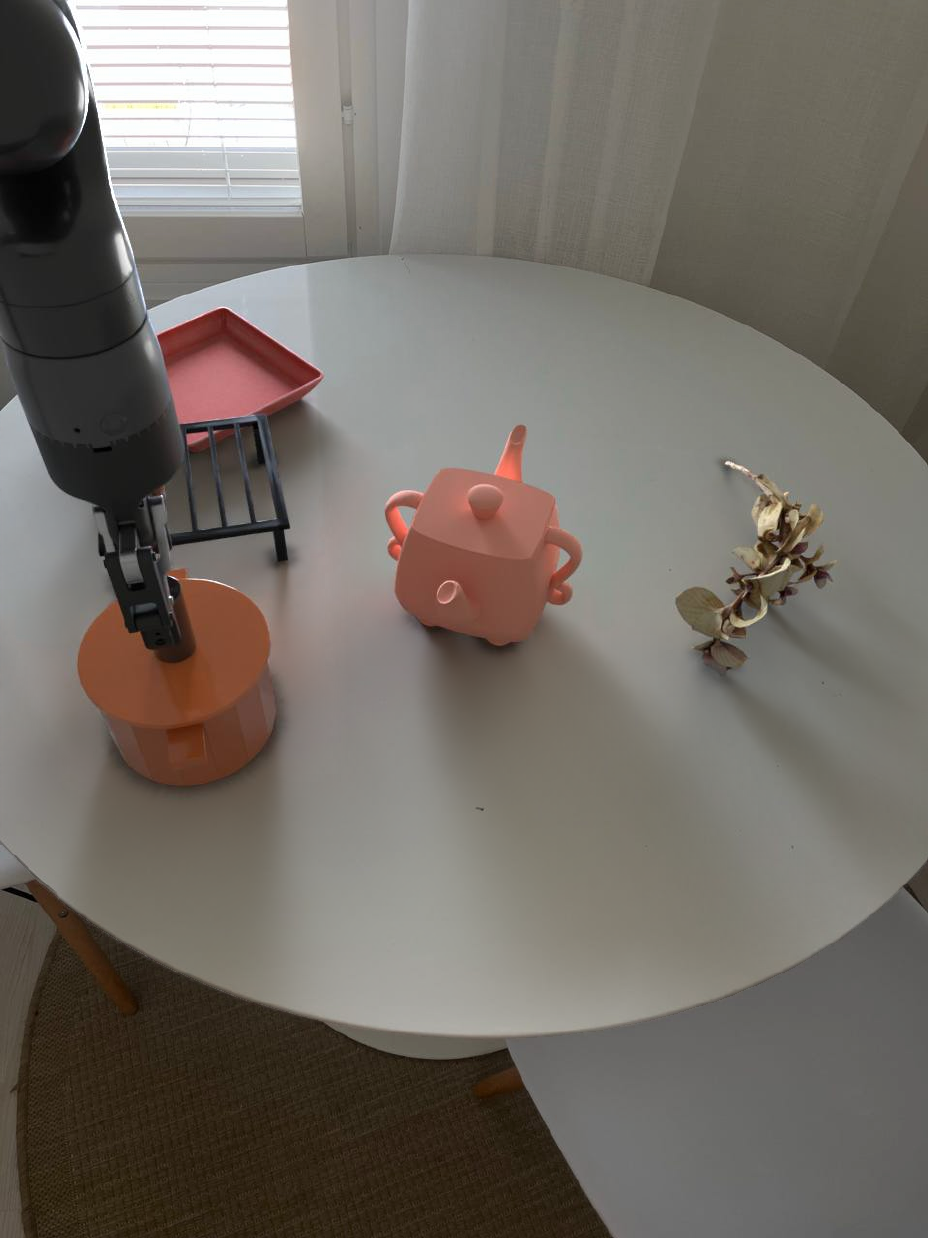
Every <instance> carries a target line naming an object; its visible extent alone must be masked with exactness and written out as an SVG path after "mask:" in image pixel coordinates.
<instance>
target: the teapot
mask: <svg viewBox="0 0 928 1238" xmlns="http://www.w3.org/2000/svg"><path fill="white" fill-rule="evenodd" d="M527 435H528V430H527V427H526V425H524V424H517V425H516V426H515V427H514V428H513V429H512V430H511V432H510V434H509V436H508V439H507V441H506V443H505V446H504V450H503V453H502V455H501V457H500V460H499V463H498V465H497V467H496V468H495V471H494V473H493V474H492V473H488V472H483V471H477V470H471V469H465V468H459V467H445V468H444V467H443V468H441V469H440V470H439V471H438V472H437V473H436V474H435V476H434V477H433V479H432V480H431V482H430V483H429V485H428V488H427V489H426V491H425V493H422V492H420V491H416V490H409V489H408V490H400V491H398V492H396V493H394V494H393V495H391V496H390V497H389V499H388V500H387V502H386V504H385V506H384V517H385V521H386V523H387V525H388V527H389V530H390V531H391V533H392V535H393V536H392V537H391V538H390V539H389V540H388V542H387V553H388V555H389V556H390V558H392V559H393V560H394V561H396V569H395V577H394V594H395V597H396V599H397V601H398V603H399V604H400V606H401V607H402V608H403V609H404V611H406V612H407V613H409V614H410V615H412V616H414V617H417V619H418V621H419V622H420V623H421V624H422V625H425V626H427V627H440V628H443V629H446V630H449V631H452V632H456V633H459V634H463V635H467V636H471V637H475V638H480V639H481V638H482V639H485V640H486V641H487V642H488V643H490V644H491V645H494V646H498V647H499V646H500V647H501V646H506V645H508V644H510V643H518V642H522V641H525V640H526V639H527V638H528V636H529V635H530V634H531V633H532V632H533V630H535V628H536V626H537V624H538V622H539V620H540V618H541V616H542V614H543V612H544V610H545V607H546V605H547V603H548V604H549V605H553V606H564V605H566V604H568V603H569V602H570V601H571V599H572V597H573V593H574V589H573V586H572V585H571V584H570V583H569V582H567V580H568V579H569V578H570V577H571V576H572V575H574V573H575V572H576V571H577V570H578V568H579V567H580V565H581V562H582V560H583V548H582V545H581V543H580V541H578V539H577V538H576V537H575V536H574V535H573V534H572V533H570V532H568V531H567V530H565V529H563V528H561V525H560V519H559V518H560V517H559V512H558V506H557V502H556V498H555V497H554V495H552V494H551V493H549V492H547V491H545V490H544V489H541V488H539V487H536V486H533V485H530V484H528V483H524V482H523V473H522V469H523V468H522V467H523V466H522V465H523V464H522V461H523V453H524V447H525V444H526V440H527ZM399 507H407V508H410V509H414V510H415V511H414V515H413V517H412V519H411V522H410V524H409V527H407V525H406V523H405V522H404V520H403V518H402V516H401V513H400V510H399ZM561 549H562V550H563V551H565V552H566V553H567V554H568V555H569V557H570V558H569V559H568V561H566V563H565V564H564V565H562V566H561V567H560V568H559V569H558V566H559V561H560V555H561Z"/></svg>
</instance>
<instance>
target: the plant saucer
mask: <svg viewBox="0 0 928 1238" xmlns="http://www.w3.org/2000/svg"><path fill="white" fill-rule="evenodd" d="M156 336H157V339H158V341H159V344H160V347H161V351H162V354H163V358H164V363H165V367H166V371H167V376H168V380H169V384H170V388H171V392H172V396H173V401H174V405H175V409H176V413H177V418H178V422H179V424H184V423H193V422H201V421H209V420H218V419H226V418H235V417H243V416H251V415H260V414H266V416H267V417H269V416H271V415H272V414H274V413H276V412H278V411H280V410H283V409H284V408H286V407H288V406H290V405H291V404H294V403H296V402H297V401H299V400H301V399H303V398H304V397H305V396H307V395H308V394H309V393H310V392H311V391H313V390H315V388H316V387H317V386H318V385H319V384H320V383H321V381H322V380H323V379H324V378H325V373H324V372H323V371H322V370H320V369H319V368H318V367H316V366H315V365H313V364H312V363H310V362H309V361H307V360H305V358H303V357H302V356H300V355H298V354H297V353H296V352H294V351H293V350H292V349H289V348H288V347H286V346H285V345H284V344H282V343H280V342H279V341H278V340H276V339H275V338H274V337H272V336H270V335H269V334H268V333H266V332H265V331H263V330H261V329H260V328H259V327H257V326H256V325H254V324H253V323H251V322H250V321H248V320H247V319H245V318H244V317H242V316H241V315H240V314H238V313H237V312H235V311H234V310H232V309H231V308H229V307H228V306H227V307H226V306H219V307H217V308H215V309H212V310H209V311H207V312H205V313H203V314H200V315H198V316H195V317H193V318H190V319H188V320H186V321H184V322H181V323H179V324H177V325H175V326H172V327H170V328H167V329H165V330H163V331H160V332H158V333H156ZM244 429H247V427H242V428H240V431H242V430H244ZM213 433H214V439H215V444H217V443H219V442H221V441H223V440H225V439H227V438H228V437H231V436H232V435H235V430H234V428H233V429H225V430H217V431H213ZM187 441H188V449H189V452H193V453H200V452H202V451H204V450H206V449H207V448H210V443H209V437H208V432H200V433H192V434H187Z"/></svg>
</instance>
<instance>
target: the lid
mask: <svg viewBox="0 0 928 1238" xmlns="http://www.w3.org/2000/svg"><path fill="white" fill-rule="evenodd" d="M166 577H167V581H168V586H169V591H170V596H171V597H173V601H174V605H172V607H173V610H174V613H175V617H176V620H177V623H178V627H179V630H180V635H181V643H180V644H179V645H177V646H174V647H168V648H162V649H157V650H149V649H147V648H146V647H145V644H144V641H143V639H142V636H141V633H140V631H139V632H137V633H131V634H129V632H128V629H127V628H125V624H124V618H123V615H122V612H121V609H120V606H119V603H118V600H117V599H116V600H115V601H113V602H112V603H111V604H109V605H108V606H107V607H106V608H105V609H103V611H101V612H100V614H99V615H97V616H96V618H95V619H94V620H93V622H91V624H90V625H89V627H88V629H87V630H86V631H85V633H84V635H83V638H82V640H81V642H80V645H79V649H78V653H77V660H76V667H77V676H78V678H79V682H80V684H81V687H82V689H83V691H84V693H85V695H86V697H87V698H88V700H90V702H91V703H92V704H93V705H94V706H95V708H97V709H98V710H99V712H100V711H102V712H103V713H105V714H106V715H108V716H109V717H111V718H113V719H115V720H117V721H119V722H122V723H125V724H128V725H131V726H136V727H141V728H150V729H171V728H179V727H185V726H189V725H193V724H197V723H200V722H203V721H206V720H208V719H211V718H213V717H215V716H217V715H219V714H221V713H223V712H225V711H226V710H228V709H229V708H231V707H233V706H234V705H235V704H237V703H238V702H239V701H240V700H242V699H243V698H244V697H245V696H246V695H247V694H248V693H249V692H250V691H251V690H252V689H253V687H254V686H255V685H256V684H257V682H258V681H259V679H260V677H261V676H262V674H263V672H264V670H265V668H266V665H267V663H268V664H269V659H270V655H271V646H272V643H271V642H272V641H271V632H270V629H269V625H268V621H267V620H266V617H265V614H264V613H263V612H262V611H261V609H260V608H259V606H258V605H257V604H256V603H255V602H254V601H253V600H252V599H251V598H250V597H249V596H247V595H246V594H245V593H243V592H241V591H240V590H238V589H237V588H235V587H232V586H230V585H227V584H225V583H221V582H218V581H214V580H209V579H202V578H188V579H175V578H173V577H171V576H167V575H166Z"/></svg>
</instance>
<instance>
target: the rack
mask: <svg viewBox="0 0 928 1238" xmlns="http://www.w3.org/2000/svg"><path fill="white" fill-rule="evenodd" d="M179 426H180V430H181V434H182V439H183V443H184V458H183V464H184V472H185V473H184V474H185V481H186V490H187V498H188V507H189V516H190V524H191V530H187V531H180V532H174V533H170V537H171V541H172V547H177V546H182V545H183V546H184V545H189V544H196V543H204V542H210V541H211V542H212V541H217V540H224V539H231V538H238V537H245V536H251V535H252V536H253V535H258V534H259V535H260V534H264V533H265V534H266V533H272V537H273V538H272V539H273V543H274V544H273V545H274V550H275V556H276V562H277V563H281V562H287V561H289V555H288V548H287V540H286V532H285V531H286V530H290V529H291V526H290V525H291V524H290V519H289V515H288V509H287V506H286V502H285V501H286V500H285V497H284V492H283V486H282V482H281V478H280V473H279V468H278V463H277V460H276V459H277V458H276V455H275V451H274V445H273V440H272V436H271V432H270V426H269V422H268V416H266V414H260V415H251V416H243V417H235V418H226V419H218V420H209V421H201V422H193V423H184V424H179ZM242 427H246V428H249V427H252V433H253V439H254V446H255V453H256V459H257V464H258V465H263V464H264V465H265V468H266V475H267V479H268V480H267V481H268V483H269V489H270V494H271V498H272V503H273V509H274V514H275V518H272V519H265V520H258V521H257V517H256V510H255V505H254V500H253V494H252V488H251V484H250V477H249V473H248V467H247V462H246V461H247V460H246V456H245V451H244V445H243V440H242V434H241V430H240V428H242ZM233 428H234V430H235V433H234V436H235V441H236V446H237V452H238V457H239V463H240V464H239V465H240V470H241V476H242V480H243V485H244V492H245V497H246V503H247V510H248V514H249V520H250V522H243V523H236V524H230V525H228V520H227V518H228V517H227V511H226V506H225V505H226V504H225V499H224V493H223V486H222V480H221V479H222V478H221V473H220V466H219V460H218V454H217V446H216V443H215V439H214V433H213V431H217V430H225V429H233ZM200 432H208V437H209V443H210V447H209V450H210V456H211V457H210V458H211V462H212V463H211V465H212V470H213V477H214V483H215V490H216V497H217V504H218V511H219V518H220V525H221V526H216V527H209V528H202V529H199V524H198V516H197V507H196V499H195V491H194V483H193V476H192V475H193V474H192V467H191V458H190V451H189V449H188V441H187V434H192V433H200ZM164 502H165V506H166V507H167V499H166V500H164ZM166 511H167V508H166ZM167 512H168V511H167ZM168 521H169V520H167V522H166V523H167V526H168V527H169V522H168ZM117 546H118V545H117ZM97 549H98V550H97V551H98V555H99V557H101V558H102V557H104V554H105V553H106V548H105V544H104V539H103V536H102V535H101V534H100V533H99V532H98V531H97ZM118 551H119V546H118Z"/></svg>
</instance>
